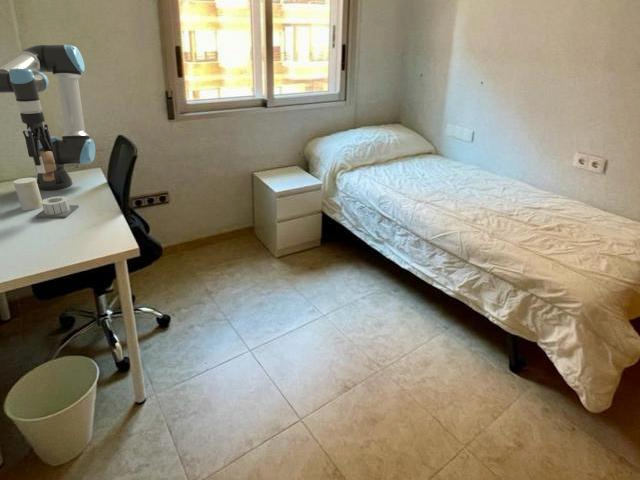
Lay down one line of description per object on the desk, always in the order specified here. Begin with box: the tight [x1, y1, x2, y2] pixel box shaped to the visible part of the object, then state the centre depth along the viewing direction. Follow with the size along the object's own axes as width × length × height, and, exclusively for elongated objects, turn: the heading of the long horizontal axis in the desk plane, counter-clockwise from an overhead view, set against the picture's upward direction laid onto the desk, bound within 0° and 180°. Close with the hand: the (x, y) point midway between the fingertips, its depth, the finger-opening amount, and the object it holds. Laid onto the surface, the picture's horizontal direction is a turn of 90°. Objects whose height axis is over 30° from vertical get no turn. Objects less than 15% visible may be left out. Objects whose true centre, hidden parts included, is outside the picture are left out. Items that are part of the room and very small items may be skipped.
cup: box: [13, 177, 43, 211], centre depth 188 cm, size 8×8×12 cm
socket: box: [35, 195, 80, 219], centre depth 184 cm, size 12×12×6 cm
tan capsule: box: [32, 151, 57, 181], centre depth 176 cm, size 7×7×11 cm
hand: (46, 170), depth 177 cm, fingers closed on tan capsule, 7 cm apart
